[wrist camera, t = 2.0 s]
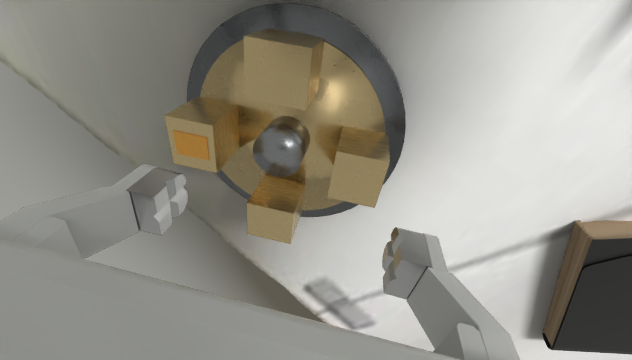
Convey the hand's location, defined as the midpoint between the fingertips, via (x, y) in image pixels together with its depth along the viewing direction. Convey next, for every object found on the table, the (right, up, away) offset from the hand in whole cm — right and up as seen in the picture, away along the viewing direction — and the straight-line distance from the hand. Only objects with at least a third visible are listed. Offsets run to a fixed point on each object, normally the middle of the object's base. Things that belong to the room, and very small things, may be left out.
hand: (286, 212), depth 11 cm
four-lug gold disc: (-2, +6, +20) cm, 21 cm away
